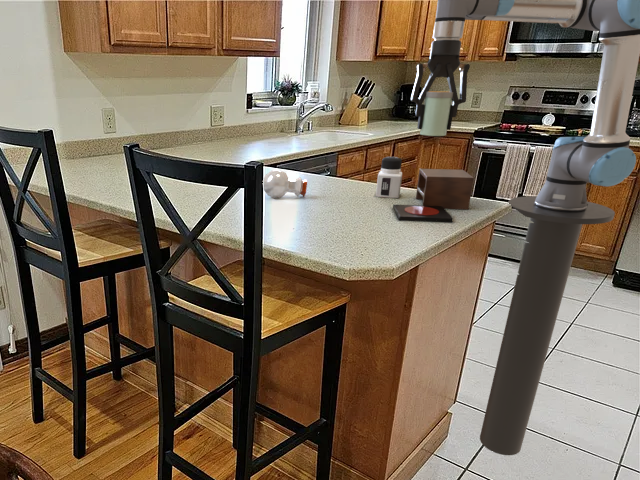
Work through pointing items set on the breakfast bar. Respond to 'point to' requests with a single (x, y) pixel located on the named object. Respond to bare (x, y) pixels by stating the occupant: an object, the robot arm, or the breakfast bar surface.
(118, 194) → the breakfast bar surface
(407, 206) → the hob plate
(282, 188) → the potion bottle
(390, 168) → the container
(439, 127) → the jar
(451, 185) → the brown box
